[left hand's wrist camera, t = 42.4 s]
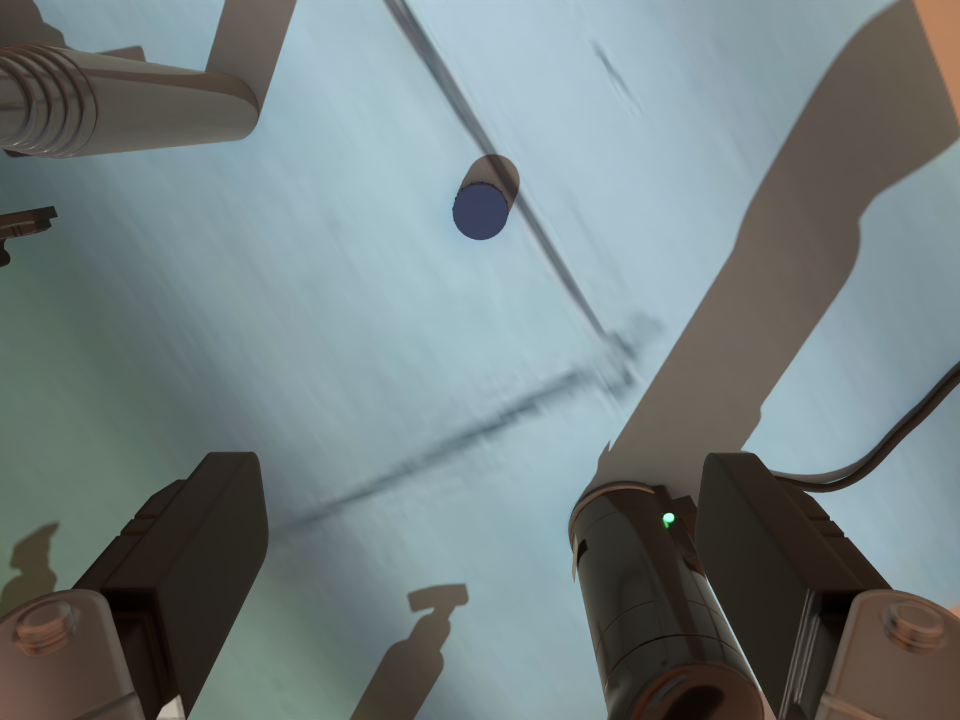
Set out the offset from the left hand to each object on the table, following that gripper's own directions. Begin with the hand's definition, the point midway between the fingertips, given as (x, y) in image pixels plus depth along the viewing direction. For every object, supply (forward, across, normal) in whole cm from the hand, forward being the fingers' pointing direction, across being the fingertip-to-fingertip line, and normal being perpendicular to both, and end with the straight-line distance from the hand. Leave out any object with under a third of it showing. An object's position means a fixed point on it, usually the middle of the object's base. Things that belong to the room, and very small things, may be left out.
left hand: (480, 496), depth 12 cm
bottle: (+38, +18, -7) cm, 42 cm away
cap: (+36, 0, 0) cm, 36 cm away
